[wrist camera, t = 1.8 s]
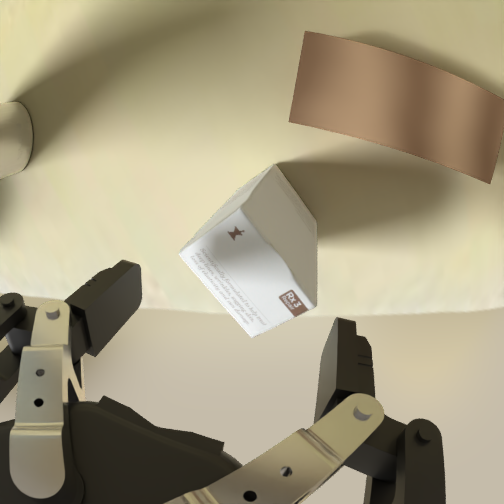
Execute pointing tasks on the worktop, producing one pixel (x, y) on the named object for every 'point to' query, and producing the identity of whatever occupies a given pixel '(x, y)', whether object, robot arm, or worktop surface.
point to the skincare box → (259, 254)
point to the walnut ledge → (397, 104)
